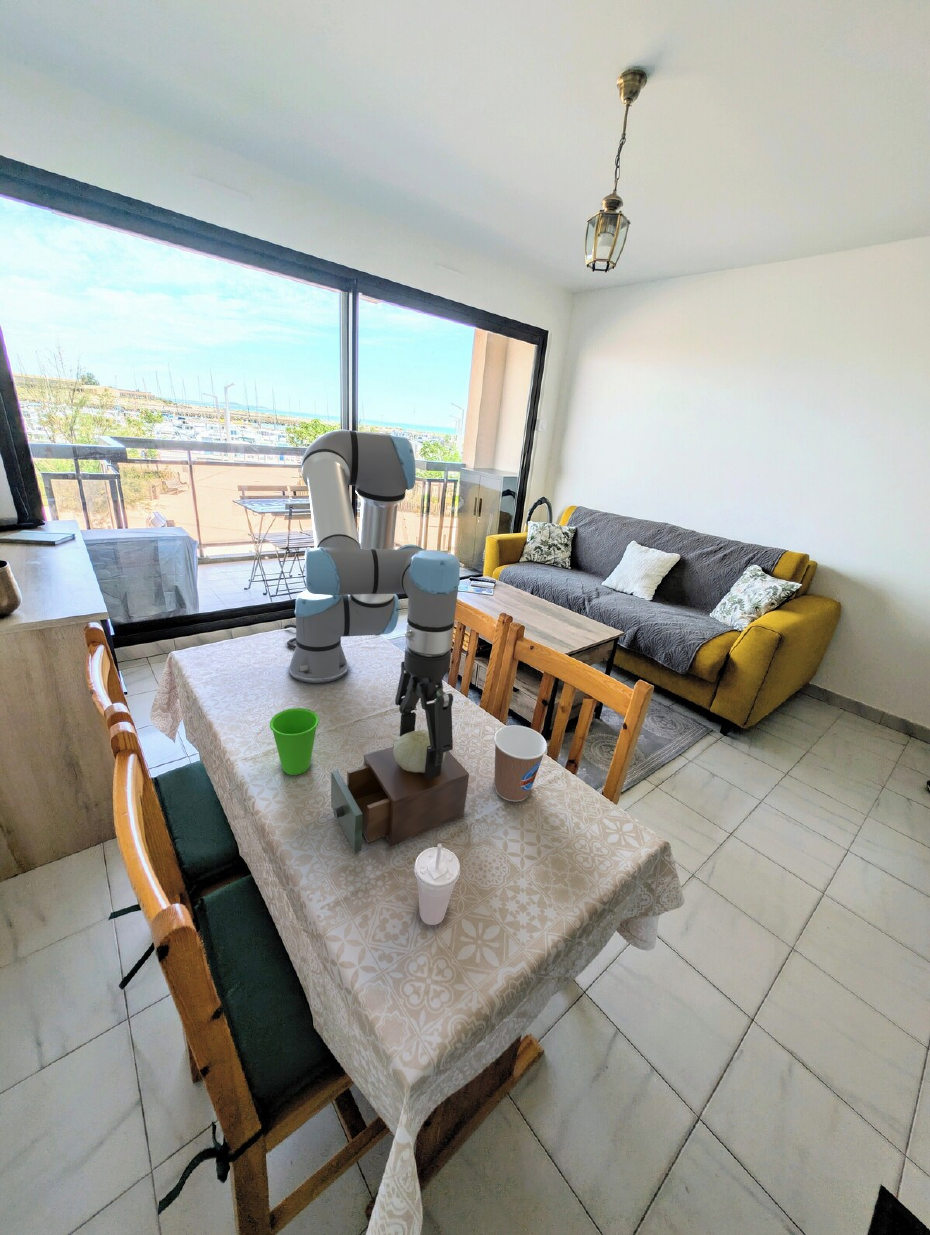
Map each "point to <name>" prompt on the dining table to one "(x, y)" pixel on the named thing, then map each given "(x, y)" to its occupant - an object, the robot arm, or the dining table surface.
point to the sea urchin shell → (412, 751)
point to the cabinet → (419, 794)
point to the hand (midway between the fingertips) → (418, 759)
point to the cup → (295, 738)
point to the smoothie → (435, 882)
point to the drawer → (360, 806)
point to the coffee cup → (517, 761)
